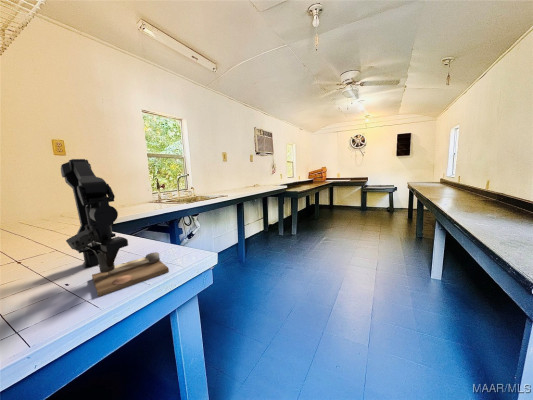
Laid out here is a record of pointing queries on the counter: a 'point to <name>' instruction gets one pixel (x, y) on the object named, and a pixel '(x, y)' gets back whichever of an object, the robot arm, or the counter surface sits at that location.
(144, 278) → the board
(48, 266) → the counter surface
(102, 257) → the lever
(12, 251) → the counter surface
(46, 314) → the counter surface
